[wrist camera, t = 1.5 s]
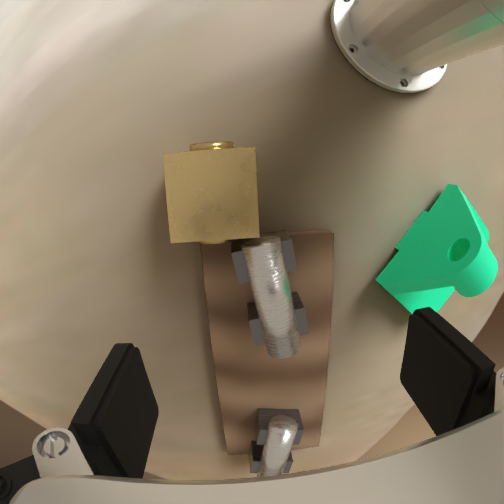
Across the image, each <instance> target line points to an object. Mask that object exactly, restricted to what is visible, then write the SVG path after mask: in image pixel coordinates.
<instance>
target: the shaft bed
mask: <svg viewBox="0 0 504 504" xmlns="http://www.w3.org/2000/svg"><path fill="white" fill-rule="evenodd" d="M265 234H269V233H263V234H260V236H261V235H265ZM287 234H288V235H289V236H290V238H291V239H292V243H293V248H294V253H295V258H296V264H297V269H298V270H297V271H293V272H288V273H287V274H288V279H289V284H290V289H291V293H292V292H297V293H298V295H299V297H300V299H301V301H302V303H303V305H304V307H305V312H306V318H307V323H308V329H309V334H305V335H301V336H300V340H301V349H300V351H299V352H298V353H296V354H295V355H293V356H290V357H287V358H273V357H271V356H269V355H268V353H267V349H266V345H265V344H264V345H259V346H255V343H254V339H253V335H252V331H251V328H250V324H249V319H248V309H247V303H250V302H255V301H254V297H253V293H252V289H251V285H250V282H246V283H242V284H239V282H238V278H237V274H236V271H235V267H234V263H233V259H232V255H231V242H229V243H223V244H201V243H200V244H201V255H202V265H203V275H204V285H205V294H206V303H207V312H208V320H209V329H210V337H211V345H212V353H213V360H214V367H215V375H216V382H217V389H218V396H219V402H220V409H221V415H222V422H223V428H224V434H225V440H226V446H227V452H228V455H234V454H249V449H250V444H251V441H256V431H255V420H256V414H257V409H258V408H274V409H299V412H300V416H301V420H302V424H303V428H304V432H303V435H302V437H301V440H300V443H299V445H292V448H291V450H294V449H302V448H309V447H316V446H319V442H320V434H321V426H322V418H323V410H324V401H325V391H326V381H327V370H328V358H329V345H330V330H331V312H332V291H333V258H334V233H332V232H331V231H330V230H318V231H299V232H287ZM244 239H248V238H244ZM244 239H237V240H235V241H239V240H244ZM235 241H233V242H235Z"/></svg>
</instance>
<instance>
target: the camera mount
mask: <svg viewBox="0 0 504 504" xmlns="http://www.w3.org/2000/svg"><path fill="white" fill-rule="evenodd" d="M488 240H489V231H488V229H487V228H486V226H485V225H484V223H483V222H482V220H481V219H480V217H479V216H478V214H477V213H476V211H475V210H474V208H473V207H472V205H471V204H470V202H469V201H468V199H467V198H466V197H465V195H464V194H463V193H462V191H461V190H460V188H459V187H458V186H457V185H452V184H448V185H447V186H446V188H445V189H444V191H443V192H442V193H441V195H440V196H439V198H438V199H437V201H436V202H435V203H434V205H433V206H432V208H431V209H430V210H429V212H426V211H423V212H422V213H421V214H420V216H419V217H418V219H417V220H416V221H415V222H414V224H413V225H412V226H411V228H410V229H409V230H408V232H407V233H406V234H405V236H404V237H403V238H402V239H401V241H400V242H399V243H398V244H397V246H396V247H395V248H396V249H397V250H398V252H397V254H396V255H395V256H394V257H393V259H392V260H391V261H390V262H389V263H388V265H387V266H386V267H385V268H384V270H383V271H382V272H381V273H380V274H379V276H378V277H377V278H376V279H375V280H376V281H377V282H378V283H379V284H380V285H382V286H383V287H384V288H385V289H386V290H387V291H388V292H389V293H390V294H391V295H392V296H393V297H394V298H395V299H397V300H398V301H399V302H400V303H401V304H402V305H403V306H404V307H405V308H406V309H407V310H408V311H409V312H410V313H411V314H413V312H414V310H416V309H421V308H425V307H430V308H432V309H433V310H434V311H435V312H437V311H438V310H439V309H440V308H441V307H442V305H443V304H444V303H445V302H446V300H447V299H448V298H449V296H450V295H451V294H452V293H453V291H454V290H455V289H456V290H457V291H458V293H459V294H461V295H462V296H465V297H473V296H476V295H479V294H481V293H482V292H484V291H485V290H486V289H487V288H488V287H489V286H490V285H491V284H492V282H493V281H494V279H495V277H496V274H497V270H498V263H497V260H496V258H495V256H494V255H493V253H492V251H491V250H490V248H489V247H488V245H487V243H488Z"/></svg>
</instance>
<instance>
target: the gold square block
mask: <svg viewBox="0 0 504 504" xmlns="http://www.w3.org/2000/svg"><path fill="white" fill-rule="evenodd" d="M163 159H164V174H165V188H166V200H167V211H168V222H169V232H170V241H171V243H182V242H198V243H201V244H223V243H229V242H233V241H235V240H237V239H244V238H260V234H259V213H258V192H257V171H256V152H255V147H243V148H233V142H207V143H198V144H192V145H190V151H188V152H178V153H168V154H163Z"/></svg>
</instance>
